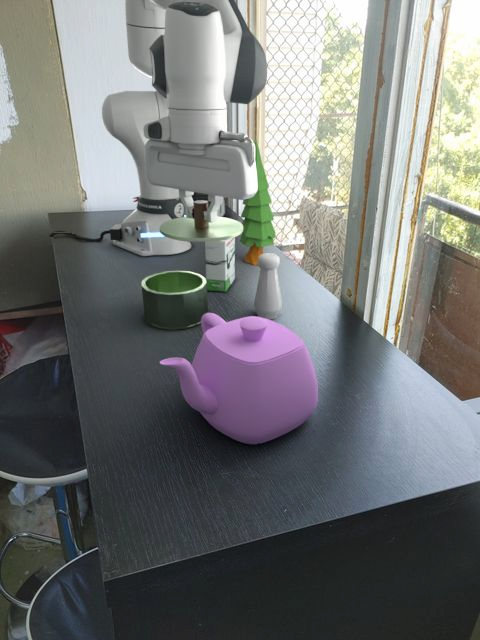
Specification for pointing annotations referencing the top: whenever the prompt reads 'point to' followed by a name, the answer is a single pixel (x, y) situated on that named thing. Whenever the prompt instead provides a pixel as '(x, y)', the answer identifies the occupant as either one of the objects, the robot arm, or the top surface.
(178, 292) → the bowl
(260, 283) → the salt shaker
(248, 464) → the top surface
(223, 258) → the ink box
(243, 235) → the decorative tree
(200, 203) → the lid
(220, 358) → the teapot
